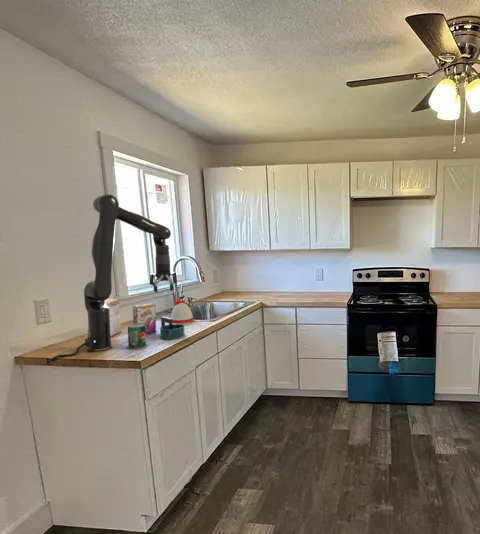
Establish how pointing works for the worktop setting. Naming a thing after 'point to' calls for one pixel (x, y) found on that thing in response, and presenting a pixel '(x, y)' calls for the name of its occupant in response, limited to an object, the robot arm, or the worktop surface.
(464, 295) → the worktop surface
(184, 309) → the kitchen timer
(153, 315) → the candy bar box
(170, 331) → the bowl
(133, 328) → the canned tomato
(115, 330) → the coffeecake box
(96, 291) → the robot arm
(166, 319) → the dark elongated piece
